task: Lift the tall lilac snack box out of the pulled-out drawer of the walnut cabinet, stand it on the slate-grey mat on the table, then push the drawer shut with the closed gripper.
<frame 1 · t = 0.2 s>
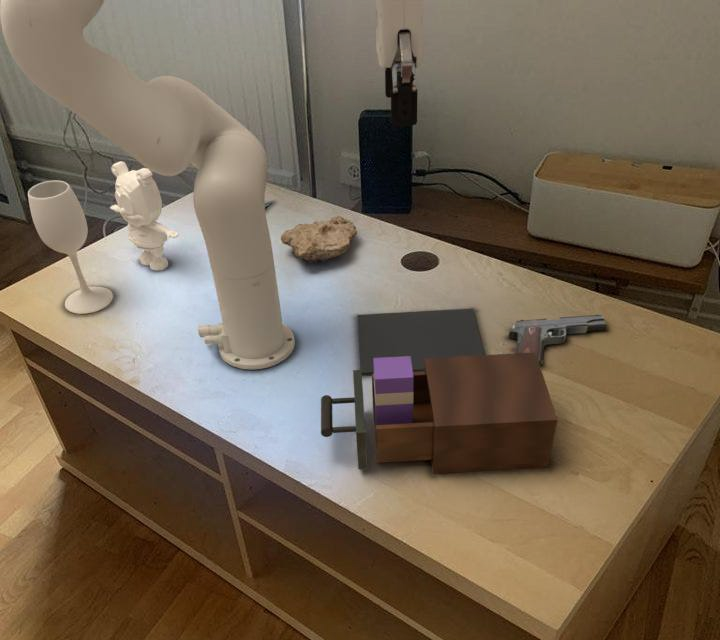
hand: (400, 110, 93), 36 cm above the table, tool pointing down, fingers open, 9 cm apart
knife: (247, 220, 151), on the table
rock: (323, 252, 141), on the table
handgun: (546, 339, 119), on the table
snack box: (393, 428, 103), point 2 cm above the table, touching drawer
wineglass: (89, 301, 132), on the table
drawer: (390, 416, 101), point 4 cm above the table, slide at 9.0 cm, touching snack box
white cartoon figurine: (154, 264, 141), on the table
cabinet: (482, 434, 104), on the table
mat: (419, 342, 120), on the table
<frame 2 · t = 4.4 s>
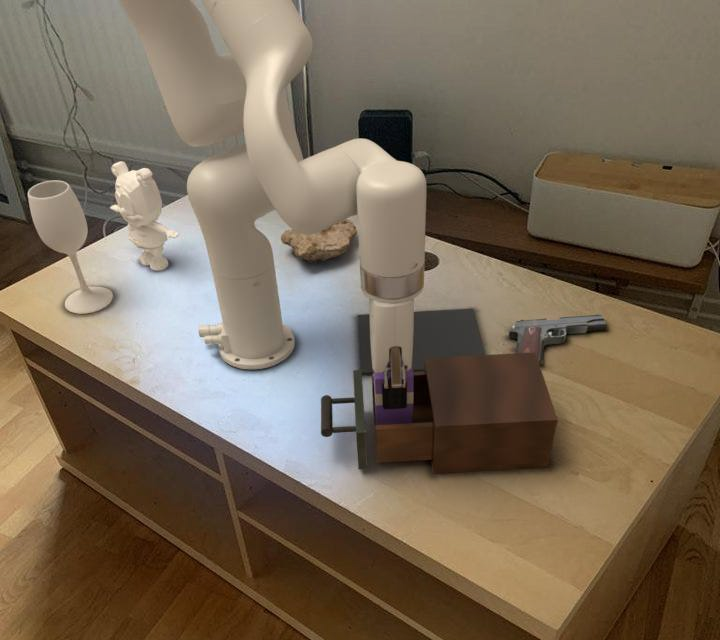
hand: (393, 393, 98), 9 cm above the table, tool pointing down, fingers closed on snack box, 4 cm apart
snack box: (393, 428, 103), point 2 cm above the table, touching drawer, gripper
everything else where it was.
when the fingers open (7 cm above the table, at t = 11.8 s): snack box stays where it is, resting on mat.
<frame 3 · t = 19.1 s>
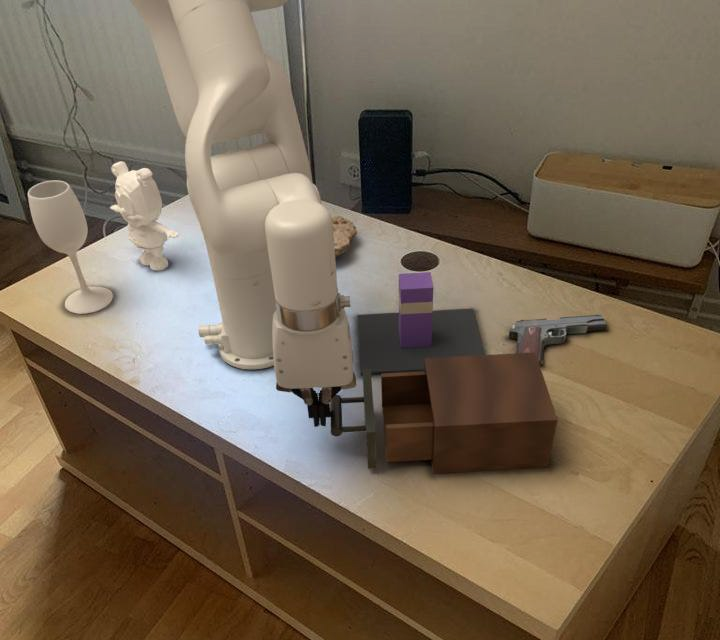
hand: (320, 419, 101), 5 cm above the table, tool pointing down, fingers closed
snack box: (414, 339, 119), point 1 cm above the table, touching mat
drawer: (400, 416, 101), point 4 cm above the table, slide at 7.7 cm, touching gripper
everything else where it was.
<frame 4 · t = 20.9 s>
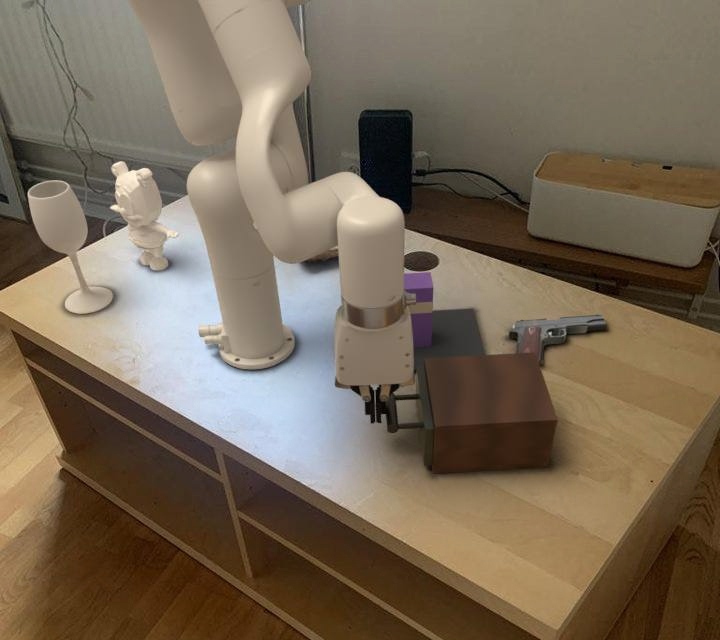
hand: (375, 416, 101), 5 cm above the table, tool pointing down, fingers closed
drawer: (454, 413, 101), point 4 cm above the table, slide at 0.0 cm, touching cabinet, gripper
everything else where it was.
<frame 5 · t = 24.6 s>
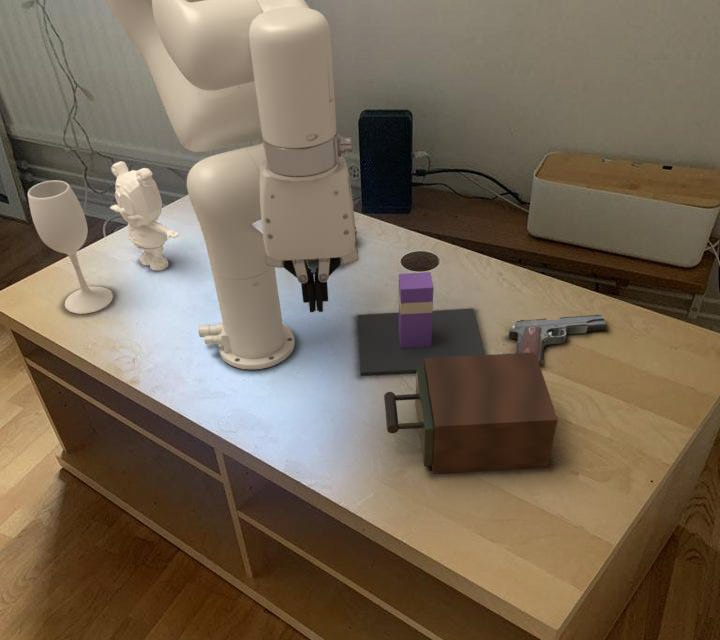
hand: (316, 305, 87), 23 cm above the table, tool pointing down, fingers closed
drawer: (454, 413, 101), point 4 cm above the table, slide at 0.0 cm
everything else where it was.
at the end: snack box inside the target area on the mat (0.8 cm from its centre), point 0.6 cm above the mat's base; snack box tilted 0°; drawer slide at 0.0 cm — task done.
